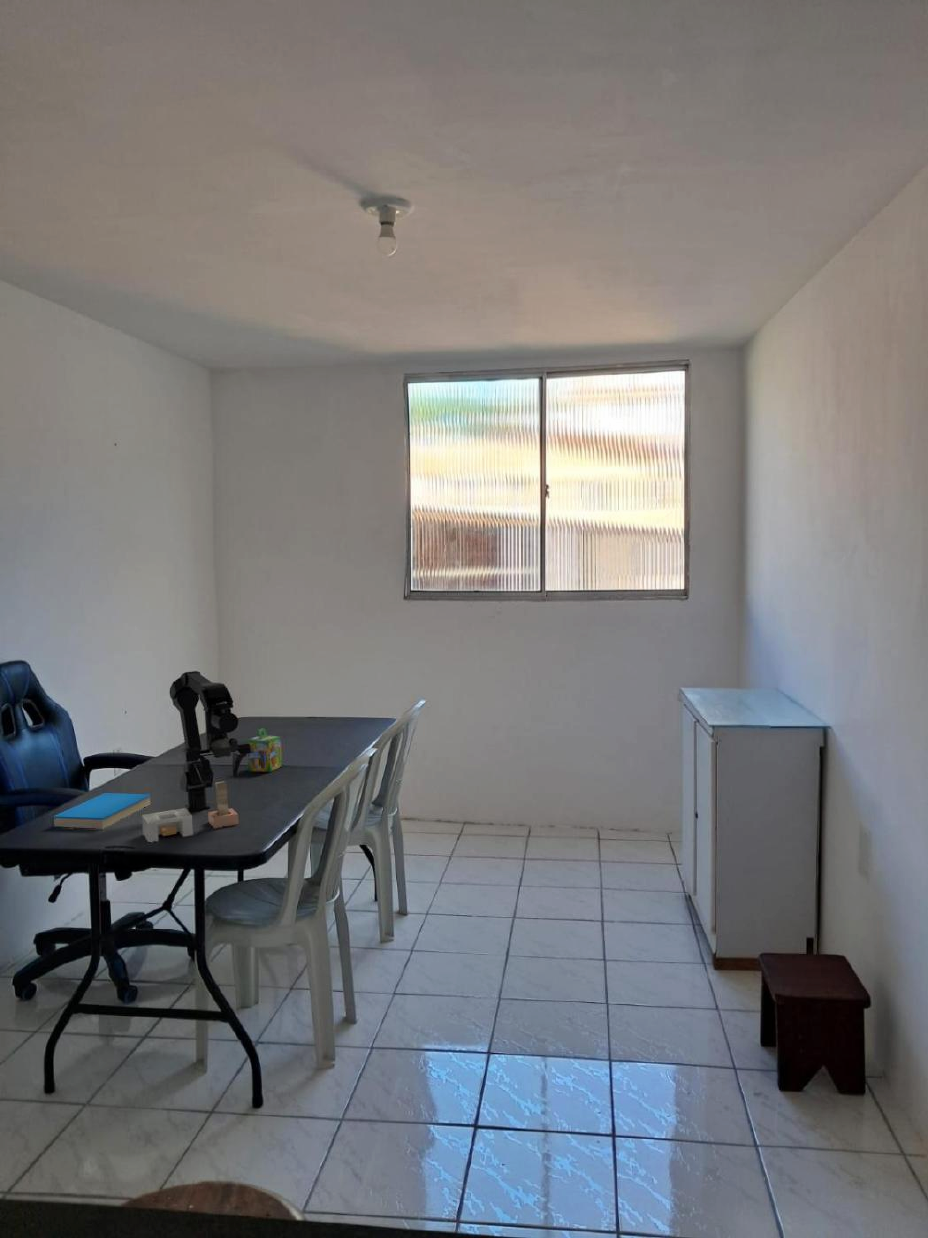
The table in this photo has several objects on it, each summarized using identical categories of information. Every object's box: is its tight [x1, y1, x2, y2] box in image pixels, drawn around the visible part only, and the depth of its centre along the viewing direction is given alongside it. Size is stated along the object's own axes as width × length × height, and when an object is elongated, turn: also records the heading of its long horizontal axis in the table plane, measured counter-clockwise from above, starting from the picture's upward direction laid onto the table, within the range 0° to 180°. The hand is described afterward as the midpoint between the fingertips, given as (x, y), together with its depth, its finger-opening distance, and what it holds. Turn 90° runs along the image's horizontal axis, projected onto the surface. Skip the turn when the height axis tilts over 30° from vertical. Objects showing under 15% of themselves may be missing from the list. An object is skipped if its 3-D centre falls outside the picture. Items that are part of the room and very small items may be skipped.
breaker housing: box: [141, 807, 194, 843], centre depth 257 cm, size 9×12×6 cm
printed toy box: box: [246, 727, 283, 773], centre depth 330 cm, size 9×9×15 cm
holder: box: [207, 807, 239, 829], centre depth 266 cm, size 7×7×3 cm
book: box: [52, 792, 152, 830], centre depth 278 cm, size 17×4×25 cm
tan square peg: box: [215, 780, 229, 816], centre depth 266 cm, size 3×3×12 cm
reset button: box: [160, 825, 177, 837], centre depth 256 cm, size 4×4×2 cm
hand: (218, 780), depth 266 cm, fingers open, 9 cm apart
